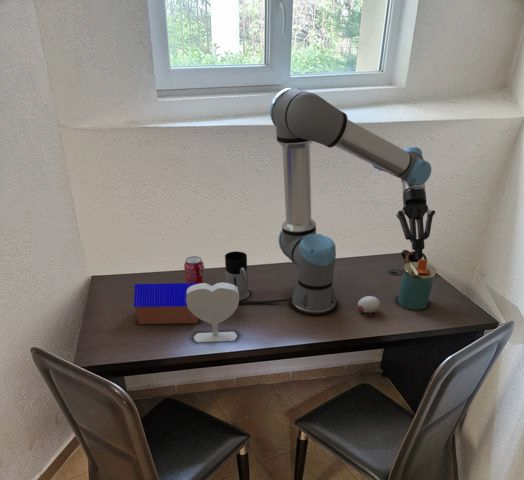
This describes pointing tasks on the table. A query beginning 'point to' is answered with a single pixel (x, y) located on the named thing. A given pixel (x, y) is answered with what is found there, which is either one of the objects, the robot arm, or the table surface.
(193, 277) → the soda can
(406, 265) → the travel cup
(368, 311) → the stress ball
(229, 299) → the heart sculpture
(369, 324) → the table surface
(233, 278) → the grey coffee mug
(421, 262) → the slider
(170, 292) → the house
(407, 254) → the pottery mug
